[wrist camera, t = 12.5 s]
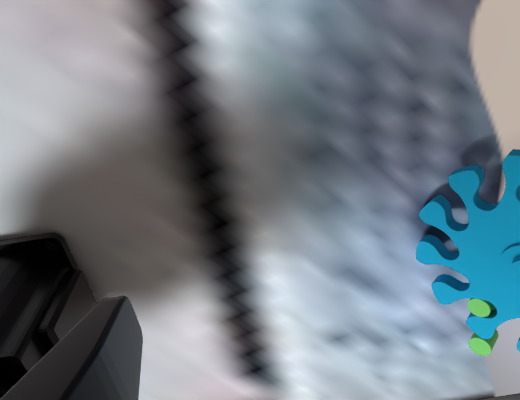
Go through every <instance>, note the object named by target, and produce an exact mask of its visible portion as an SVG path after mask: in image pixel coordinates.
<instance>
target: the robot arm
mask: <svg viewBox="0 0 520 400" xmlns="http://www.w3.org/2000/svg"><path fill="white" fill-rule="evenodd" d="M50 242H54V243H56V245H57V246H54V245H52V244H51V243H50ZM142 344H143V337H142V330H141V327H140V325H139V322H138V320H137V317H136V314H135V312H134V309H133V307H132V304H131V302H130V300H129V299H128V298H127V297H126V296H118V297H111V298H106V299H103V300H101V301H100V302H99V303H98V304H96V301H95V299H94V297H93V295H92V292H91V290H90V288H89V286H88V283H87V281H86V279H85V277H84V275H83V272H82V271H81V270H79V269H78V267H77V265H76V263H75V261H74V259H73V256H72V254H71V252H70V250H69V248H68V245H67V243H66V241H65V239H64V238H63V237H62V236H61V235H59V234H57V233H48V234H41V235H35V236H29V237H22V238H16V239H9V240H3V241H0V400H138V396H139V383H140V370H141V357H142Z"/></svg>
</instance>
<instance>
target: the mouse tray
mask: <svg viewBox="0 0 520 400" xmlns="http://www.w3.org/2000/svg"><path fill="white" fill-rule="evenodd" d="M480 400H520V393H519V394H513V395H506V396H499V397H493V398H486V399H480Z"/></svg>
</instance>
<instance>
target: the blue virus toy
mask: <svg viewBox="0 0 520 400" xmlns="http://www.w3.org/2000/svg"><path fill="white" fill-rule="evenodd" d="M502 167H503V171H504V174H505V179H506V188H505V192H504V195H503V197H502V199H501V200H500V202H499V203H496V204H488V203H486V202H484V201H483V200H482V199H481V198H480V196H479V189H480V187H481V185H482V183H483V182H484V179H485V173H484V170H483V169H482V167H481V166H480V165H470V166H466V167H462V168H460V169H458V170H455V171H454V172H453V173H452V174H451V175H450V176H449V179H448V180H449V184H450V187H451V188H452V189H453V190H454V191H455V192H456V193H457V194H458V195H459V196H460V197H461V198H462V200H463V202H464V203H465V206H466V208H467V212H468V219H469V224H460V223H458V222H456V221H455V220H454V218H453V216H452V210H451V205H450V203H449V201H448V200H447V199H446V198H445V197H443V196H441V195H438V196H436V197H435V198H433V199H432V200H431V201H430V202H429V203H428V204H427V205H426V206H425V207H424V208H423V209H422V210H421V212H420V213H419V216H420V218H421V219H422V221H424V222H425V223H427V224H429V225H432V226H435V227H437V228H439V229H440V230H442V231H443V232H445V233H446V234H447V235H448V236H449V237H450V238H451V239H452V241H453V242H454V243H455V245H456V246H457V247H458V249H459V253H454V252H451V251H449V250H448V249H447V248H446V247H445V246H444V244H443V243H442V242H441V240H440V239H438V238H437V237H435V236H433V235H426V236H425V237H424V238H423V239H422V240H421V241H420V242H419V244H418V246H417V251H416V259H417V260H418V261H419V262H421V263H424V264H439V265H444V266H447V267H449V268H452V269H454V270H456V271H457V272H459V273H461V274H462V275H464V276H465V277H466V278H467V279H468V280H469V283H463V282H461V281H459V280H457V279H456V278H454V277H452V276H450V275H446V274H442V275H439V276H438V277H437V278H436V279H435V281H434V282H433V283H432V289H433V292H434V294H435V297H436V298H437V300H438V302H439V303H441V304H451V303H453V302H454V301H456V300H459V299H463V298H471V299H470V300H469V302H468V309H469V310H470V312H471V313H470V315H469V317H468V318H467V320H466V323H467V325H468V326H469V327H470V329H471V330H472V331H473V332H474V334H473V335H472V337H471V339H470V341H469V346H470V348H471V350H472V351H474V352H475V353H476V354H479V355H482V356H486V355H489V354H490V352H491V351H492V348H493V346H494V344H495V342H496V340H497V338H498V332H497V330H496V328H497V327H498V326H499V325H500V324H501V323H503V322H505V321H507V320H511V319H515V318H520V150H515V149H513V150H512V151H511V152H510V153H509V154H508V155H507V156H506V158H505V159H504V161H503V165H502ZM517 349H518V350H519V351H520V338H519V340H518V343H517Z"/></svg>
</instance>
